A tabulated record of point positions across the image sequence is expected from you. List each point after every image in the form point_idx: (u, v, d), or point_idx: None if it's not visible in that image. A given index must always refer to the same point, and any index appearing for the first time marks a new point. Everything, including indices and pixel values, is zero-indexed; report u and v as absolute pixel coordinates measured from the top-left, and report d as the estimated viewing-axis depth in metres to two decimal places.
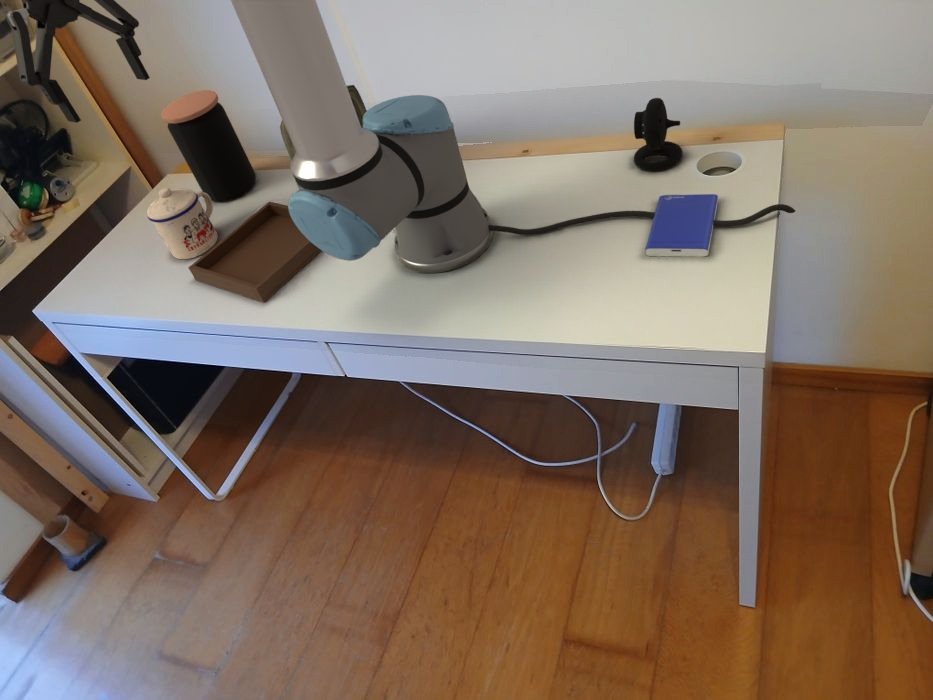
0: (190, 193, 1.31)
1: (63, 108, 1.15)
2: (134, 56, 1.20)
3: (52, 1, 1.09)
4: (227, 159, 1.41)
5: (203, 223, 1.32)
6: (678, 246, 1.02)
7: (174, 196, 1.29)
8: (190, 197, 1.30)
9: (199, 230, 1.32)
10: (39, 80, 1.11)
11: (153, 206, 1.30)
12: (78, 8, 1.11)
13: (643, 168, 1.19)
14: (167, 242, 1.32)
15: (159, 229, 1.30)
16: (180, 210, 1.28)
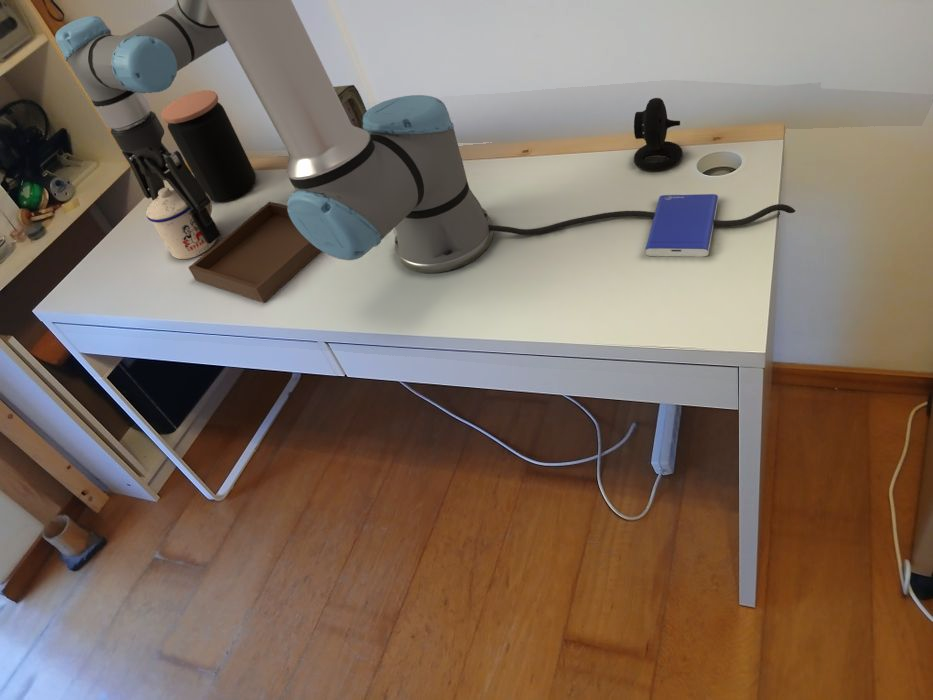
0: None
1: None
2: (197, 225, 1.31)
3: (142, 155, 1.25)
4: (227, 159, 1.41)
5: None
6: (678, 246, 1.02)
7: (174, 196, 1.29)
8: None
9: (199, 230, 1.32)
10: None
11: (152, 206, 1.30)
12: (155, 170, 1.25)
13: (643, 168, 1.19)
14: (166, 242, 1.32)
15: (158, 229, 1.30)
16: (179, 210, 1.28)
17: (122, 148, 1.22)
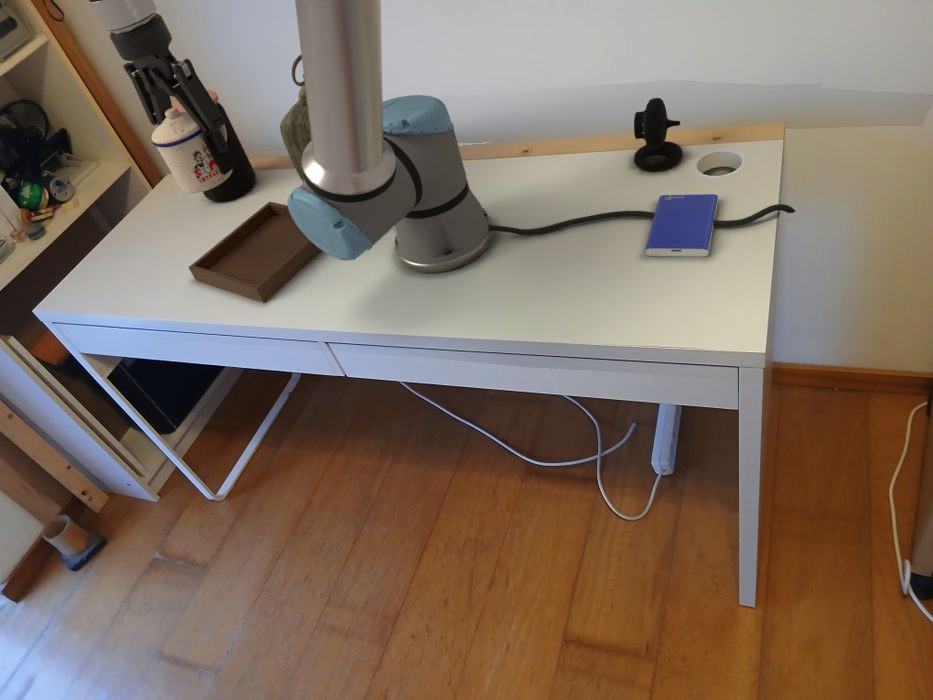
0: None
1: None
2: (210, 151, 1.13)
3: (147, 66, 1.07)
4: None
5: None
6: (678, 246, 1.02)
7: (183, 117, 1.11)
8: None
9: (212, 158, 1.14)
10: None
11: (159, 129, 1.12)
12: (161, 84, 1.07)
13: (643, 168, 1.19)
14: (175, 172, 1.14)
15: (166, 156, 1.12)
16: (190, 132, 1.10)
17: (123, 55, 1.04)
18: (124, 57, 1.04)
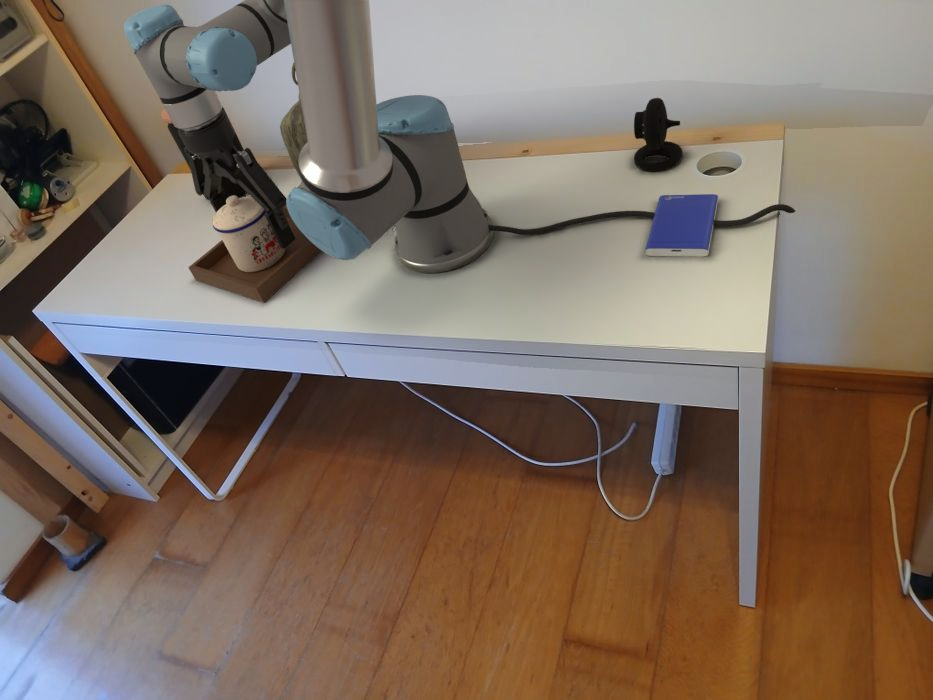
0: None
1: None
2: (271, 228, 1.19)
3: (210, 157, 1.15)
4: None
5: (272, 233, 1.23)
6: (678, 246, 1.02)
7: (243, 205, 1.19)
8: (259, 205, 1.20)
9: (268, 241, 1.22)
10: None
11: (219, 215, 1.20)
12: (225, 173, 1.15)
13: (643, 168, 1.19)
14: (233, 254, 1.22)
15: (226, 240, 1.21)
16: (250, 220, 1.18)
17: (190, 150, 1.11)
18: (191, 151, 1.12)
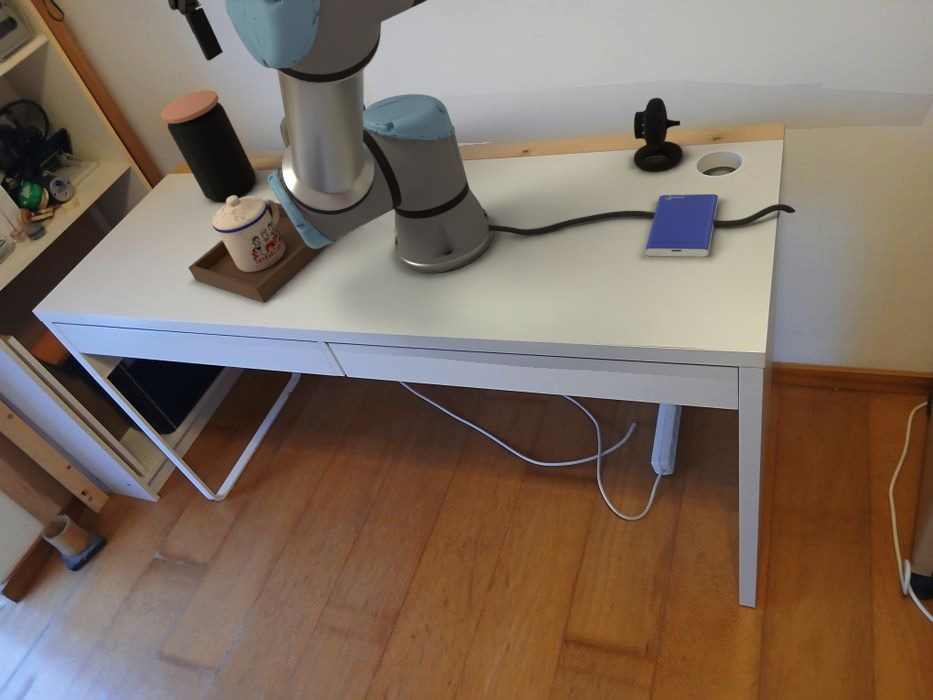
0: (259, 201, 1.21)
1: None
2: None
3: None
4: (227, 159, 1.41)
5: (272, 233, 1.23)
6: (678, 246, 1.02)
7: (243, 205, 1.19)
8: (259, 205, 1.20)
9: (268, 241, 1.22)
10: None
11: (220, 215, 1.20)
12: None
13: (643, 168, 1.19)
14: (233, 254, 1.22)
15: (226, 240, 1.21)
16: (250, 220, 1.18)
17: None
18: None
